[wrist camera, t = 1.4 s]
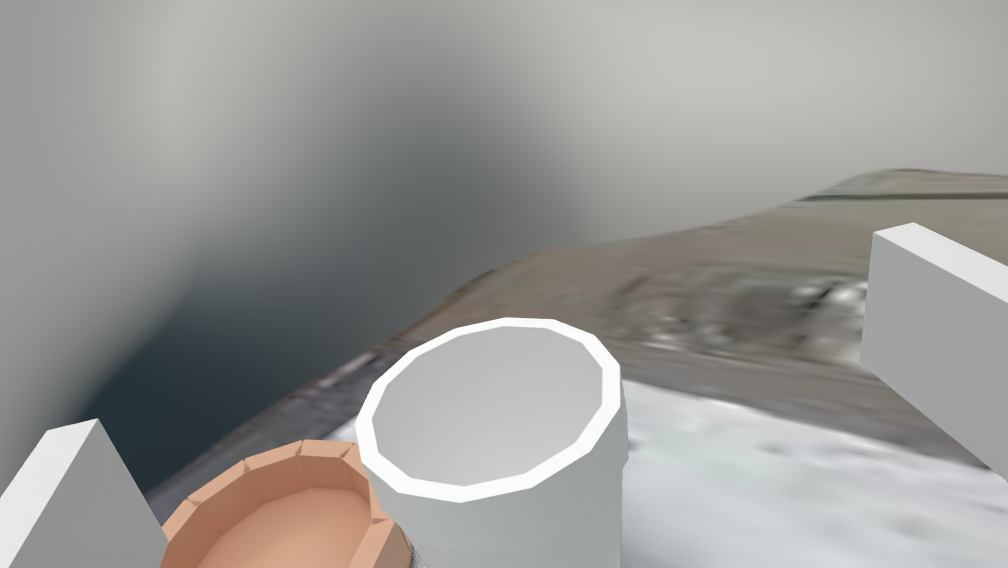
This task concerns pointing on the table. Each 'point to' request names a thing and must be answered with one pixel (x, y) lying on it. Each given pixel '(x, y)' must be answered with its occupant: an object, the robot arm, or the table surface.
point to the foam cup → (501, 447)
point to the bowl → (287, 515)
